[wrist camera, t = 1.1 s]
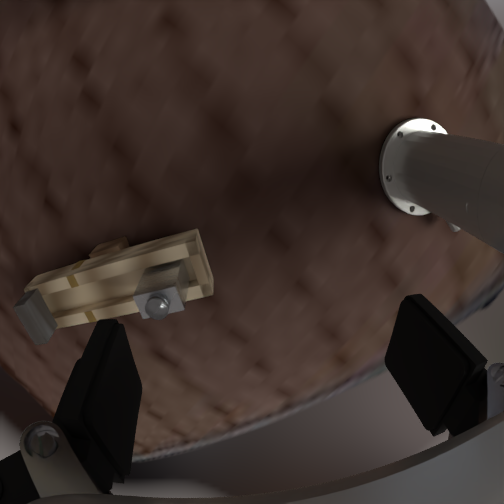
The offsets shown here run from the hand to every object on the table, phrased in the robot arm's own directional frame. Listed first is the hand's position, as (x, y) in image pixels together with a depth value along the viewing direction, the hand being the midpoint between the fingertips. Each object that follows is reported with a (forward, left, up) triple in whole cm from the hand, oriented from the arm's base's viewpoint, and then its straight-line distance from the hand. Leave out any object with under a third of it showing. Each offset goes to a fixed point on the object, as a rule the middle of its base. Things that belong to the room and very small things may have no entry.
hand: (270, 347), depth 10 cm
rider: (0, +10, -21) cm, 23 cm away
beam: (+4, +16, -26) cm, 31 cm away
